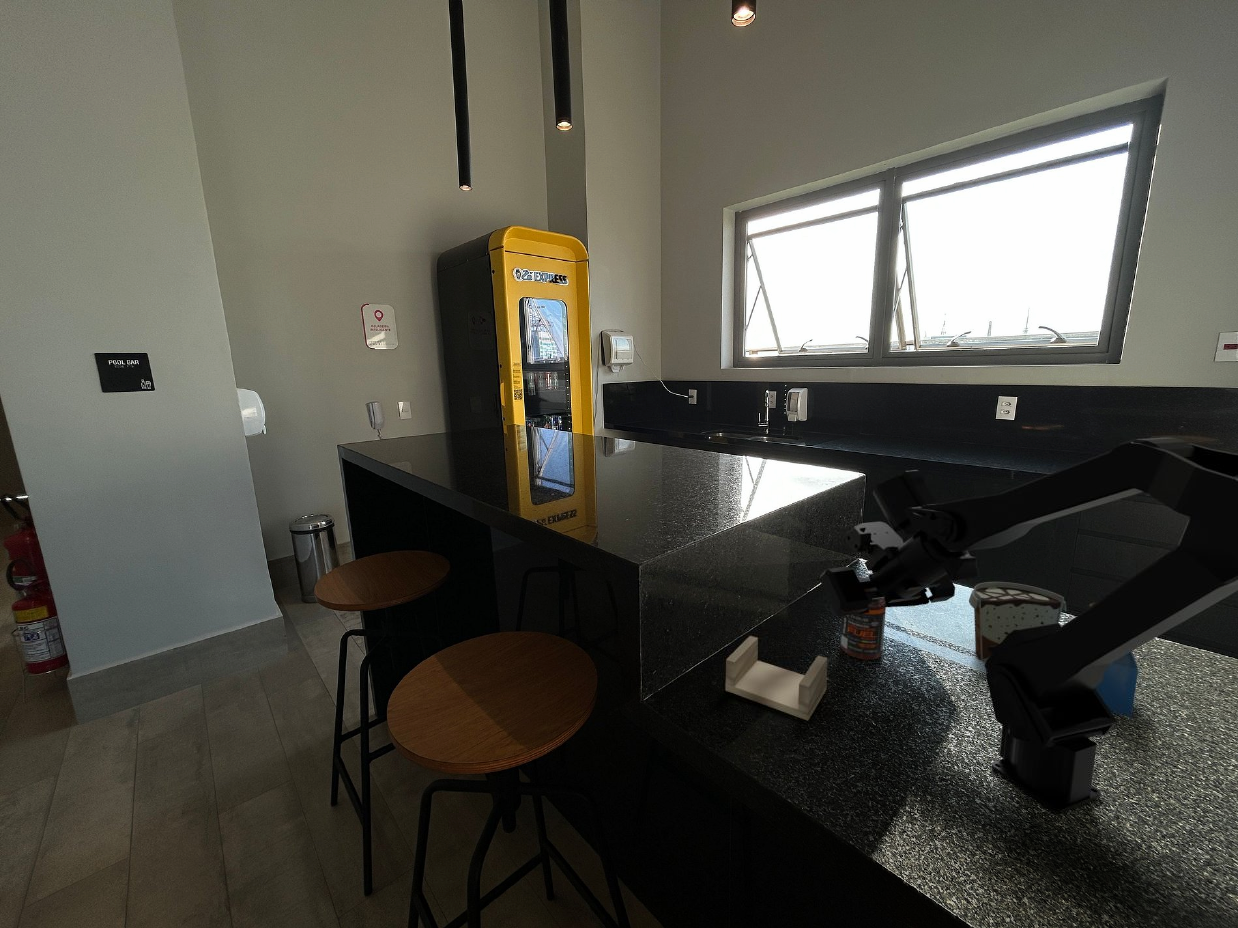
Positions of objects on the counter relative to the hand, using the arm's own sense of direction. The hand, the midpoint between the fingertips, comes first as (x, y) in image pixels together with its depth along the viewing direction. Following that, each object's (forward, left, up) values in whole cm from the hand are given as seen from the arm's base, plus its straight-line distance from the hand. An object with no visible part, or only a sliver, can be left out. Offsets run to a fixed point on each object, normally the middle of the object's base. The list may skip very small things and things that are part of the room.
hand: (856, 606), depth 79 cm
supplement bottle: (-1, 0, -7) cm, 7 cm away
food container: (-8, -20, -7) cm, 23 cm away
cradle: (-5, +18, -7) cm, 20 cm away
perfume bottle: (-20, -20, -7) cm, 29 cm away
